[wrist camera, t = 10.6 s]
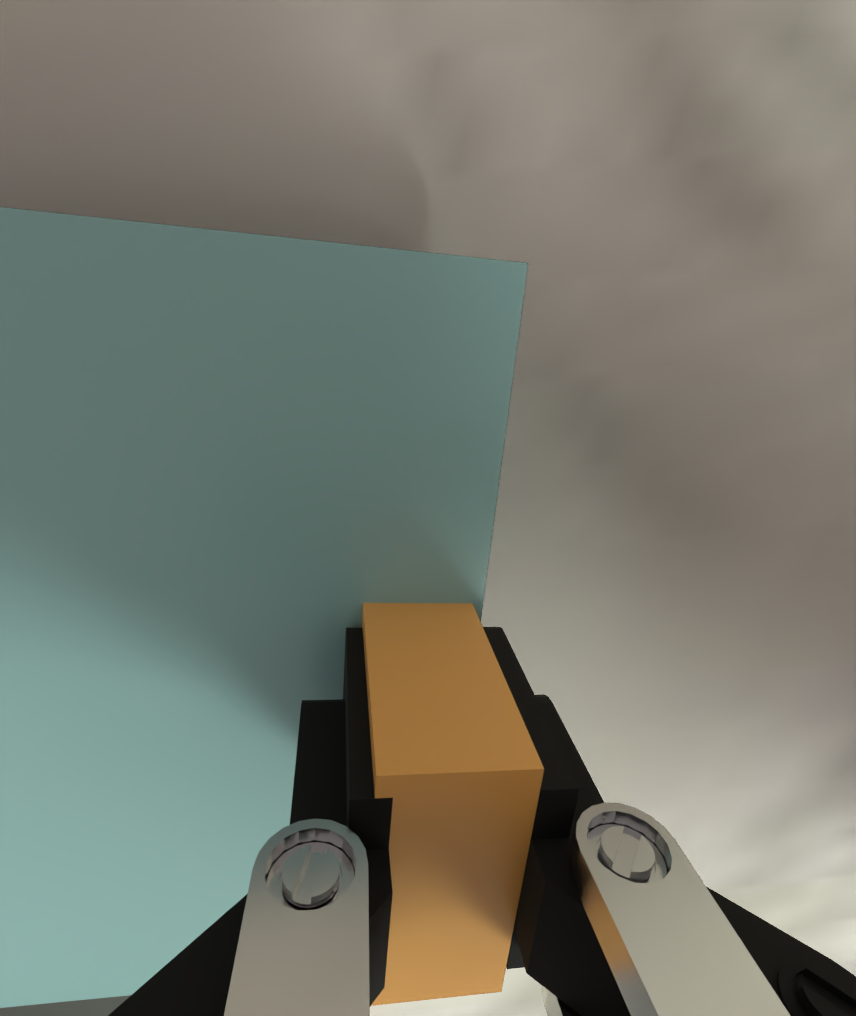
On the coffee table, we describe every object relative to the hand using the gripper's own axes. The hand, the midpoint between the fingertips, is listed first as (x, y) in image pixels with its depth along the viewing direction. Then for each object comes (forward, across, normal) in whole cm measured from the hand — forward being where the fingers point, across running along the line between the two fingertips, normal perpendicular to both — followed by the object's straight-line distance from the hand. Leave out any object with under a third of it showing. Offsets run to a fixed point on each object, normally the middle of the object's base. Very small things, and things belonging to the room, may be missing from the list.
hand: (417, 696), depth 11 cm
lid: (+1, +5, 0) cm, 5 cm away
